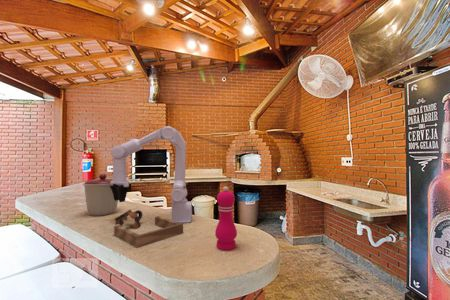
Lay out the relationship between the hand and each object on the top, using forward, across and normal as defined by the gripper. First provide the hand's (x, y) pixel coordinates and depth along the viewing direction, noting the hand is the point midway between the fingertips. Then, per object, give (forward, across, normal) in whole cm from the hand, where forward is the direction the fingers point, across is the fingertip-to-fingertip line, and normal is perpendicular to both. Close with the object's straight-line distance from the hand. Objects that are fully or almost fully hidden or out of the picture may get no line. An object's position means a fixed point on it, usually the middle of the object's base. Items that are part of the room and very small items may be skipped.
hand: (119, 201), depth 107 cm
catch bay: (+9, +26, 0) cm, 28 cm away
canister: (+10, -22, +1) cm, 24 cm away
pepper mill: (+10, +57, +10) cm, 59 cm away
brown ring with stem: (+10, +11, 0) cm, 15 cm away
